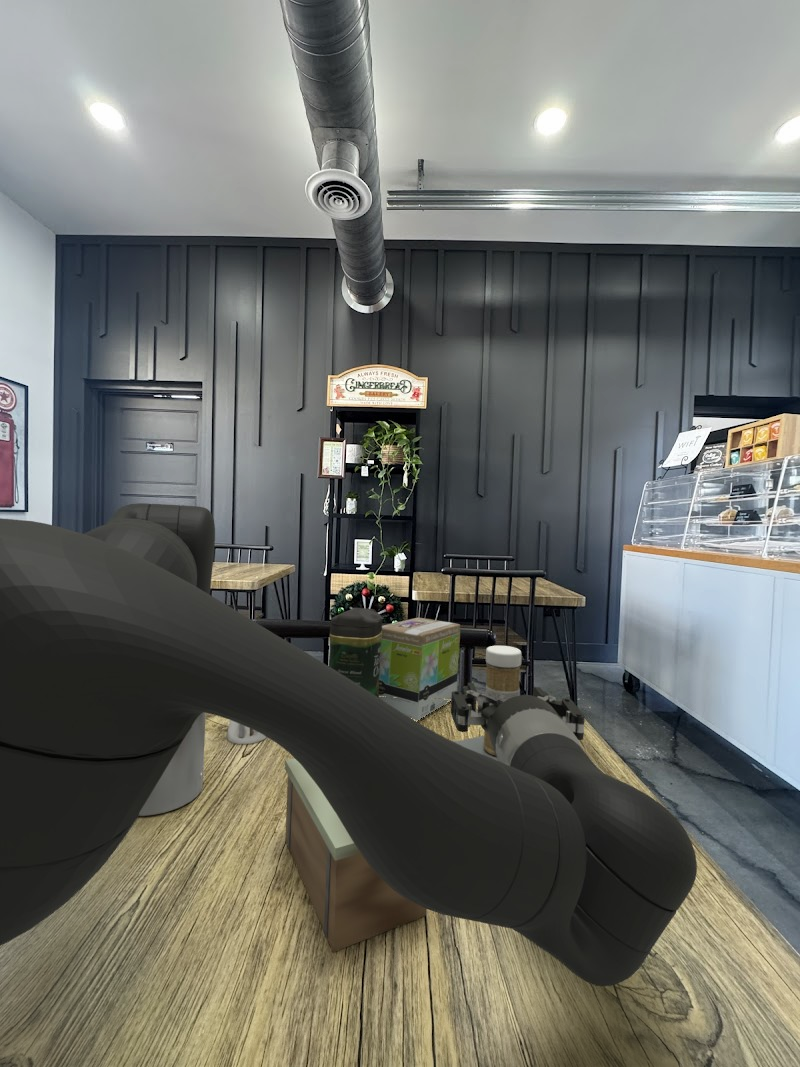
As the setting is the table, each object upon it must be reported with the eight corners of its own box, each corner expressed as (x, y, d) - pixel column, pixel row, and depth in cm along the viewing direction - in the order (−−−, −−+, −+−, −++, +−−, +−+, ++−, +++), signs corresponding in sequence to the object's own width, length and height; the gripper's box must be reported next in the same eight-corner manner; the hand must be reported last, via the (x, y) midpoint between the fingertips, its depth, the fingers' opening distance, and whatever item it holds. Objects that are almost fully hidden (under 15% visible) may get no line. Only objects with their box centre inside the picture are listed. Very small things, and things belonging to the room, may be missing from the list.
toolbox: (331, 956, 34) (336, 834, 34) (281, 838, 47) (285, 750, 47) (431, 916, 38) (435, 807, 38) (360, 818, 51) (364, 736, 51)
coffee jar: (369, 739, 71) (374, 615, 71) (318, 733, 72) (323, 612, 72) (383, 715, 80) (387, 606, 80) (338, 710, 82) (342, 603, 82)
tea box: (419, 724, 77) (423, 634, 77) (369, 710, 83) (372, 626, 83) (458, 699, 90) (461, 621, 90) (412, 688, 95) (415, 615, 95)
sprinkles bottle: (509, 742, 65) (513, 644, 65) (523, 758, 60) (527, 652, 60) (477, 743, 64) (481, 644, 64) (489, 759, 60) (493, 652, 60)
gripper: (458, 783, 45) (446, 717, 61) (609, 794, 45) (556, 725, 61) (463, 704, 45) (449, 659, 61) (613, 715, 45) (560, 667, 61)
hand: (502, 692), depth 61 cm, fingers open, 8 cm apart
